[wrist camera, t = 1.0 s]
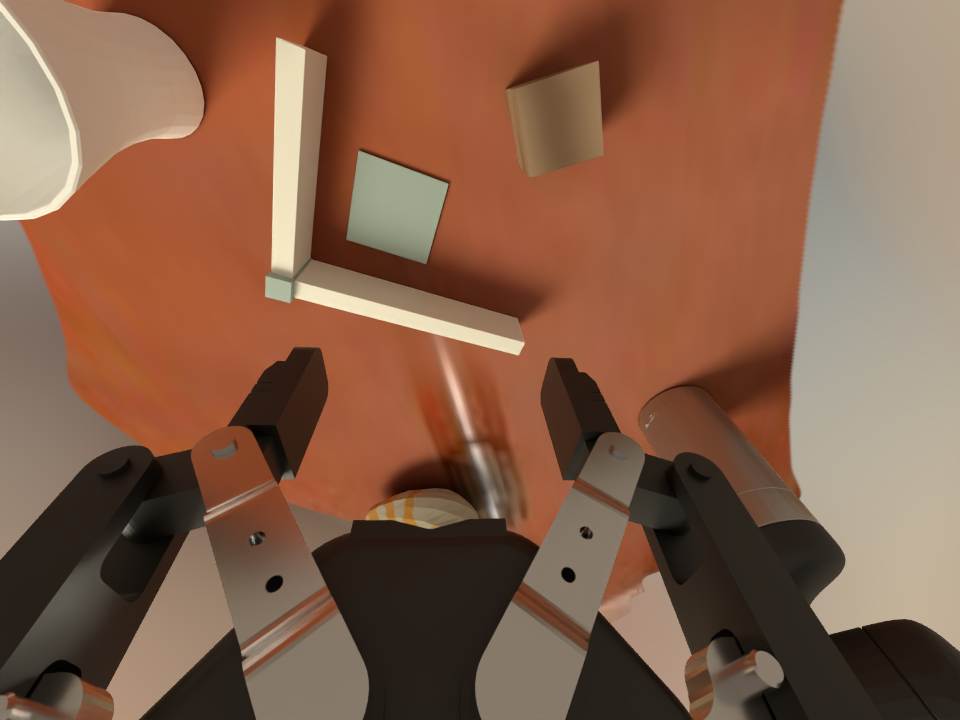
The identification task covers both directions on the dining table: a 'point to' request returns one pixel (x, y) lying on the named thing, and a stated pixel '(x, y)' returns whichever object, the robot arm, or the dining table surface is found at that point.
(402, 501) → the nautilus
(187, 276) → the dining table surface
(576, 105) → the block
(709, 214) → the dining table surface
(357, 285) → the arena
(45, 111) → the cup
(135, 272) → the dining table surface
